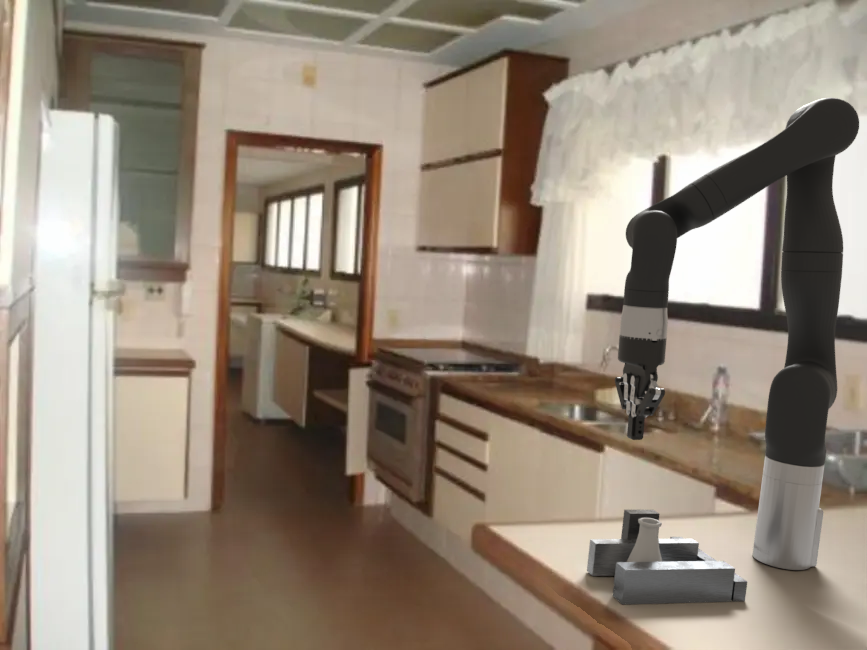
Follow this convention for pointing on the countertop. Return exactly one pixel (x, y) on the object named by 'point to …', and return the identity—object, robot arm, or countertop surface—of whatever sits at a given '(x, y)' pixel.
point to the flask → (647, 542)
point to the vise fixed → (678, 581)
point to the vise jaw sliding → (619, 550)
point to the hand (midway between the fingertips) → (634, 438)
